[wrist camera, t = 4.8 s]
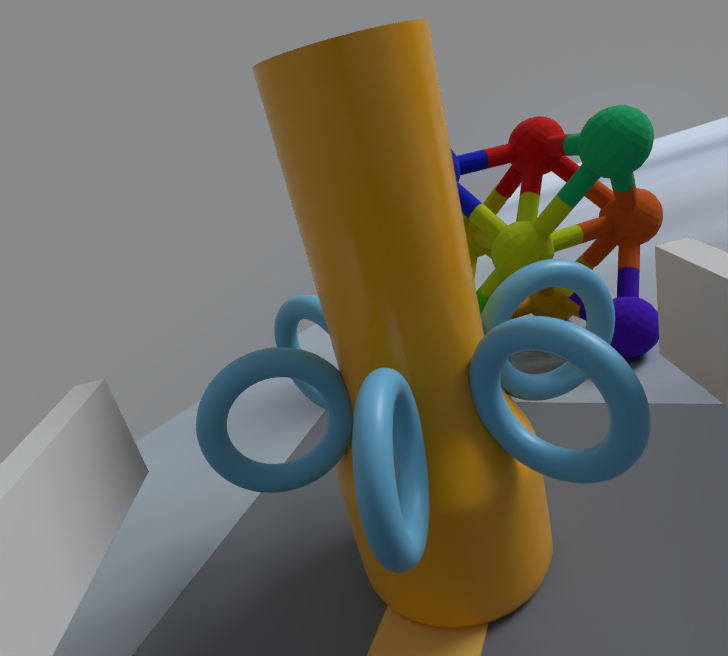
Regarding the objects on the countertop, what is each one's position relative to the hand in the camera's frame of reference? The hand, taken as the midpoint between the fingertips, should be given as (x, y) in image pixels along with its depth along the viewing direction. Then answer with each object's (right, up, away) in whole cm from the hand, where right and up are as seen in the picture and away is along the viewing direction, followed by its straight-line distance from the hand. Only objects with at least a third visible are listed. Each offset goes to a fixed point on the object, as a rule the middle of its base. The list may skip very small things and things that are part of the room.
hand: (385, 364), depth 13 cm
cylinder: (+3, -7, +5) cm, 8 cm away
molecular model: (+10, 0, +18) cm, 20 cm away
